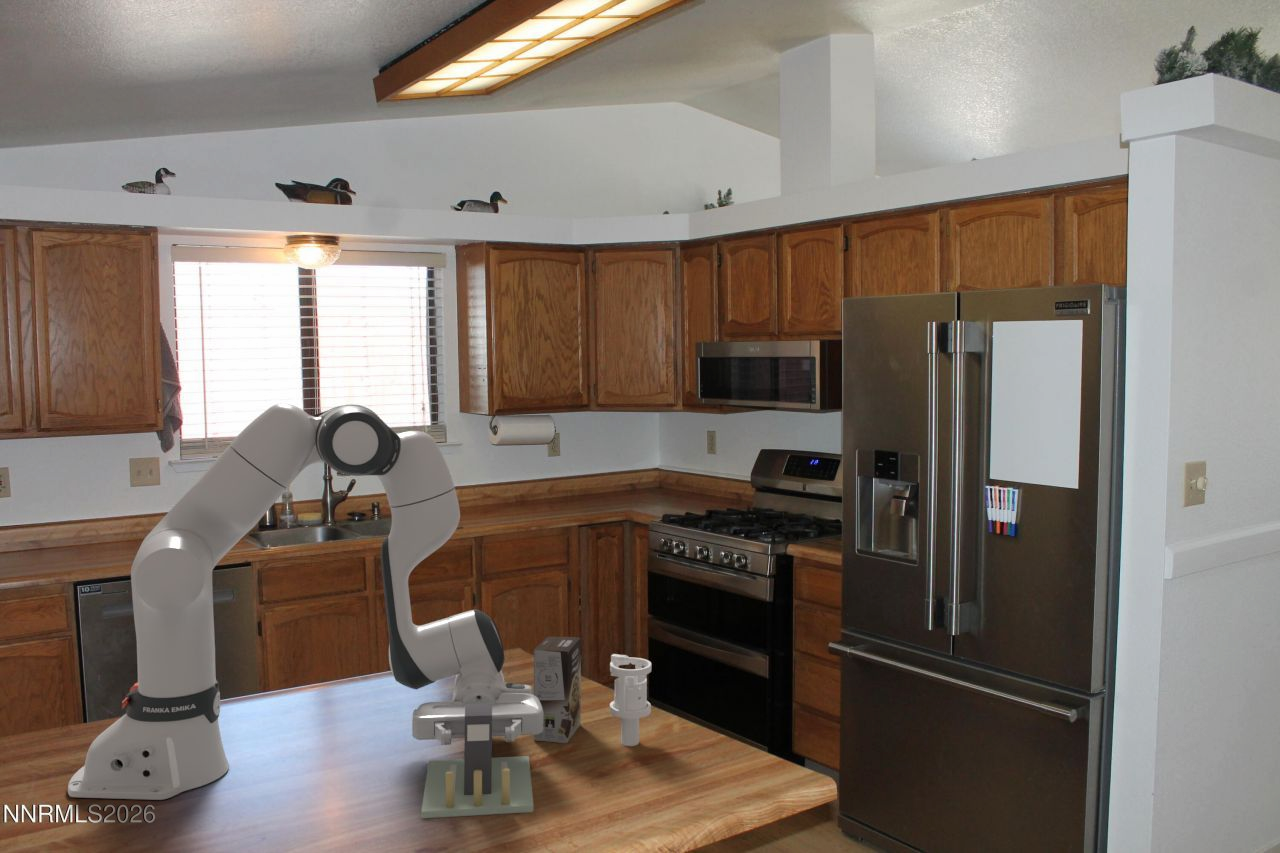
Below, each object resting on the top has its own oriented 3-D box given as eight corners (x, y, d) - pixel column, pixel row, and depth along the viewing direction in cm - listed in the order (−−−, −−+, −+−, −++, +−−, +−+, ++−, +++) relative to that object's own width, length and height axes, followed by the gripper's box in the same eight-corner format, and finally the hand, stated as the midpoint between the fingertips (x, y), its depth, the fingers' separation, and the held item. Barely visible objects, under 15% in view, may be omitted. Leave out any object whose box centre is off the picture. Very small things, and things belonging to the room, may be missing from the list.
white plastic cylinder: (620, 732, 179) (621, 648, 178) (657, 739, 176) (658, 654, 175) (602, 746, 173) (602, 659, 172) (639, 753, 170) (640, 665, 169)
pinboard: (421, 818, 146) (421, 777, 146) (428, 766, 164) (428, 730, 163) (533, 811, 148) (533, 772, 148) (528, 761, 166) (528, 726, 166)
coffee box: (568, 744, 174) (568, 651, 172) (532, 741, 175) (532, 649, 174) (582, 724, 183) (582, 636, 181) (547, 722, 184) (547, 634, 183)
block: (464, 795, 151) (464, 716, 150) (464, 780, 156) (465, 704, 155) (491, 794, 152) (492, 715, 151) (491, 779, 157) (492, 703, 156)
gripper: (413, 689, 164) (407, 721, 151) (540, 684, 167) (545, 715, 154) (414, 727, 165) (407, 762, 151) (540, 722, 168) (545, 755, 154)
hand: (478, 738), depth 153 cm, fingers open, 8 cm apart
